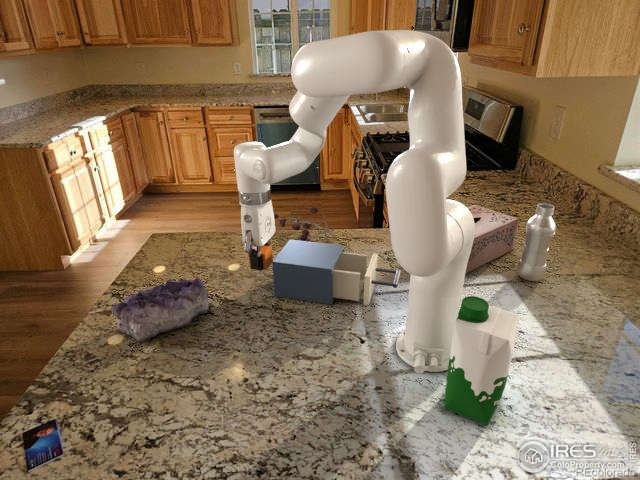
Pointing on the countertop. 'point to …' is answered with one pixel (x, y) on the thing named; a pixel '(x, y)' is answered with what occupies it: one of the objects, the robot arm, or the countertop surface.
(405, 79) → the robot arm
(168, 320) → the geode
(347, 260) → the cabinet drawer
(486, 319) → the milk carton
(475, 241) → the tissue box cover
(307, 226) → the decorative branch
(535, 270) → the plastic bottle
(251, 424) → the countertop surface
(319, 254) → the blue cabinet body
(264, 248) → the orange foam cube
